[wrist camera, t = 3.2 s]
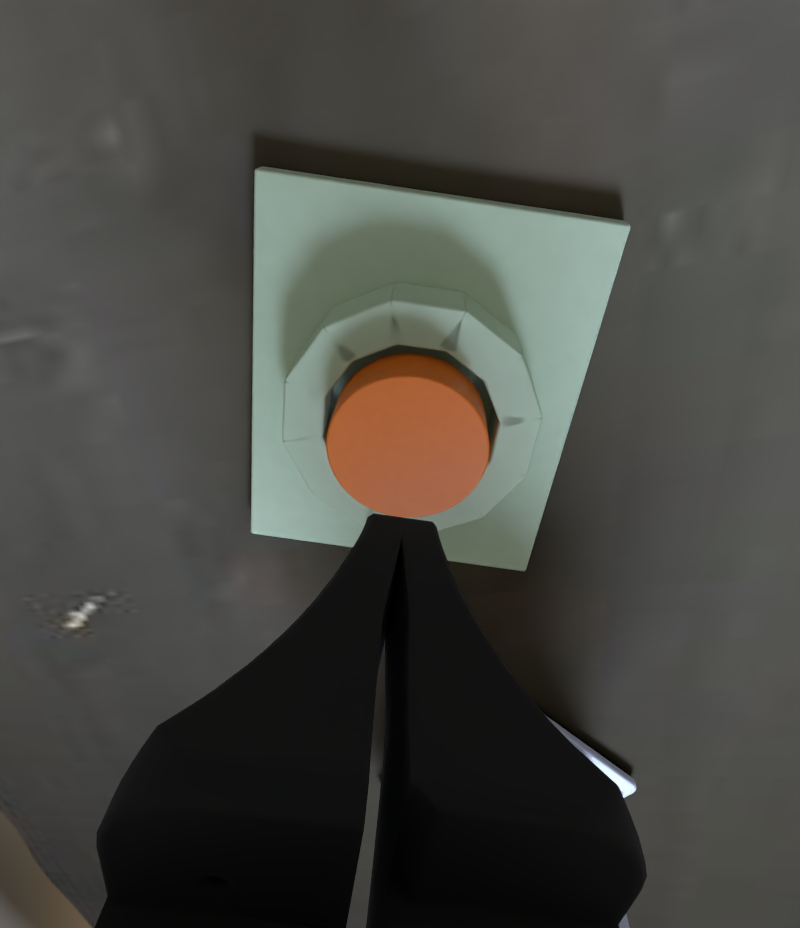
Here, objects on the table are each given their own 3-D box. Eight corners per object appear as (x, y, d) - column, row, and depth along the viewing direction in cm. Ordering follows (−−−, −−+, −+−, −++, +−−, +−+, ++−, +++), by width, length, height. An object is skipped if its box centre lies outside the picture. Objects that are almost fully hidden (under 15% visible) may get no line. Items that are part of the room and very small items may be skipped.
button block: (523, 560, 23) (532, 607, 21) (255, 522, 23) (236, 566, 21) (625, 220, 17) (651, 238, 15) (260, 165, 17) (233, 176, 15)
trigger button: (470, 496, 19) (472, 528, 18) (329, 476, 19) (320, 506, 18) (500, 364, 17) (506, 388, 16) (341, 341, 17) (331, 363, 16)
